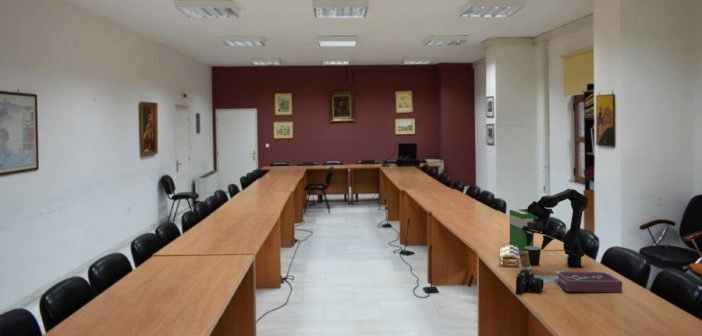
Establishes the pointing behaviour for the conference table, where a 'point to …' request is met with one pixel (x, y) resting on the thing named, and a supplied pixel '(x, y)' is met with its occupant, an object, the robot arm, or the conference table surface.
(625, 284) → the conference table surface
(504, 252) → the diorama
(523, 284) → the film camera
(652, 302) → the conference table surface
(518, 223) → the hardback book
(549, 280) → the flat light blue board
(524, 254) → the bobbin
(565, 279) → the book
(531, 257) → the coffee mug
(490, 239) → the conference table surface
